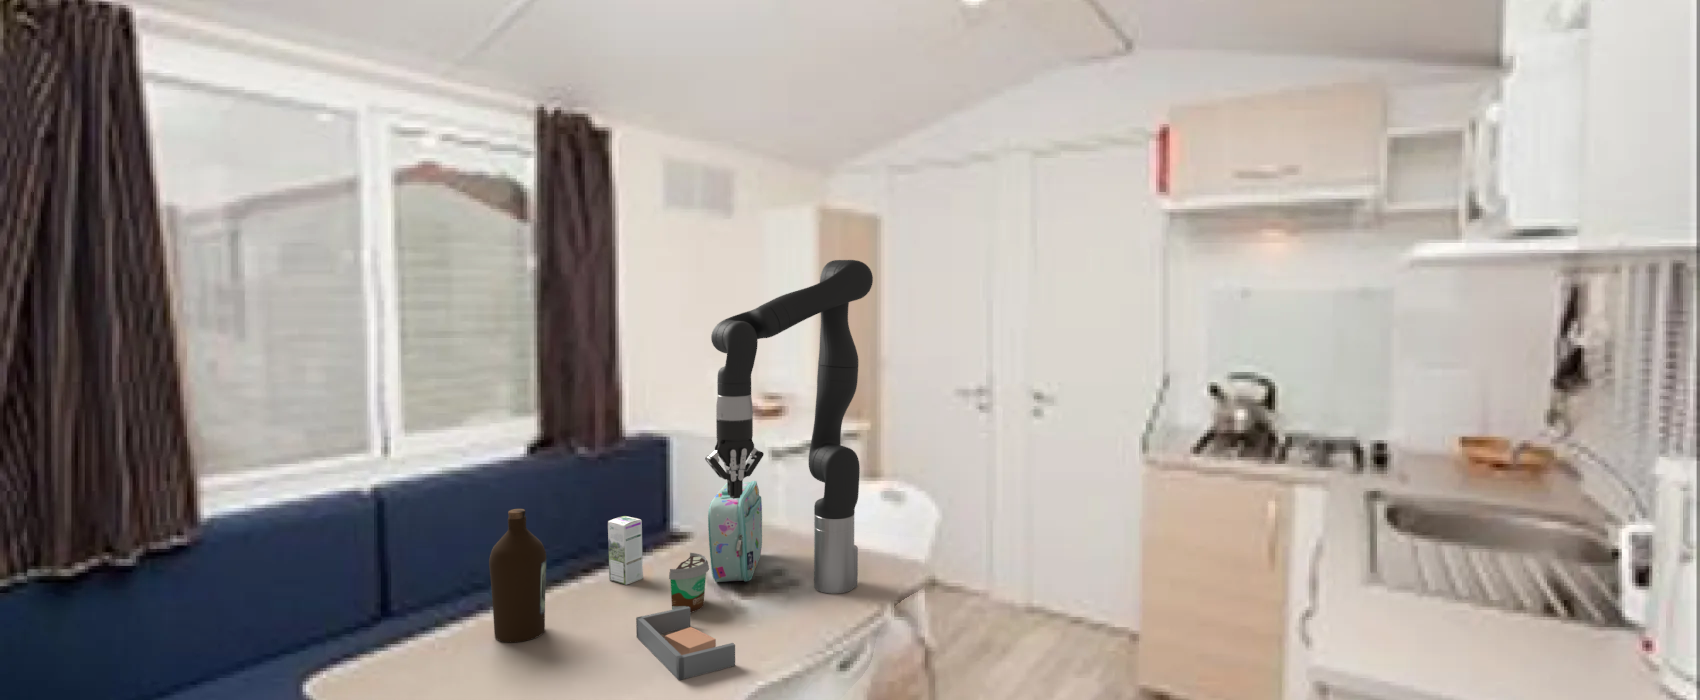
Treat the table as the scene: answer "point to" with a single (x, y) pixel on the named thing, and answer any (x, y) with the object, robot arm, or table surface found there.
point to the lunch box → (735, 533)
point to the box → (669, 656)
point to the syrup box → (625, 550)
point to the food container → (689, 583)
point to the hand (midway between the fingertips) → (734, 497)
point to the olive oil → (518, 582)
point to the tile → (690, 641)
